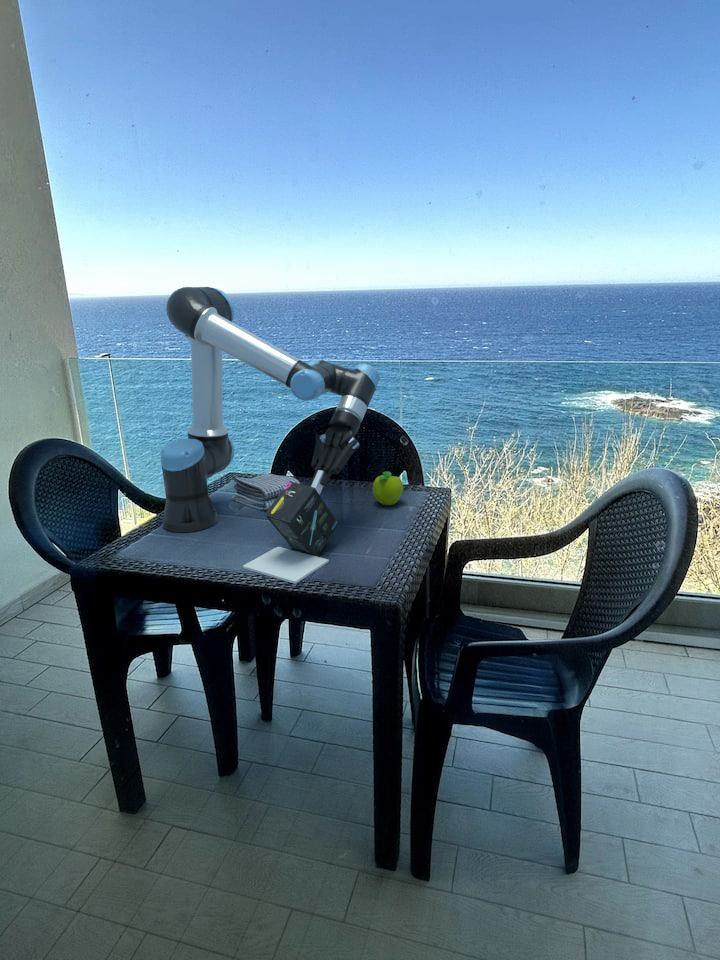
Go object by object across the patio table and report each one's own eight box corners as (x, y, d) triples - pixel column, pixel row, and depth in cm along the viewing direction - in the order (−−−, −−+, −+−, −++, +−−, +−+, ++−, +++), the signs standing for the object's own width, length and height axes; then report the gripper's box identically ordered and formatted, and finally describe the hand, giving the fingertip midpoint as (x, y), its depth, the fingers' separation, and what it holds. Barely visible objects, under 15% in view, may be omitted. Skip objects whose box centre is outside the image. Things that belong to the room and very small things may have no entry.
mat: (242, 568, 140) (242, 565, 140) (278, 548, 150) (277, 546, 150) (295, 583, 132) (295, 581, 131) (329, 562, 142) (328, 559, 142)
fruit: (369, 508, 177) (368, 476, 174) (378, 498, 186) (377, 467, 183) (398, 510, 175) (398, 478, 172) (406, 500, 183) (406, 469, 180)
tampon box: (313, 516, 155) (288, 480, 145) (340, 523, 149) (315, 486, 140) (290, 549, 150) (262, 513, 141) (316, 557, 145) (289, 521, 135)
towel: (266, 513, 176) (264, 489, 173) (230, 500, 188) (228, 477, 185) (304, 500, 186) (302, 477, 184) (267, 489, 198) (266, 466, 196)
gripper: (374, 427, 154) (341, 506, 146) (333, 422, 161) (299, 498, 152) (363, 411, 148) (328, 492, 140) (321, 406, 155) (285, 484, 146)
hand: (313, 495), depth 146 cm, fingers closed
